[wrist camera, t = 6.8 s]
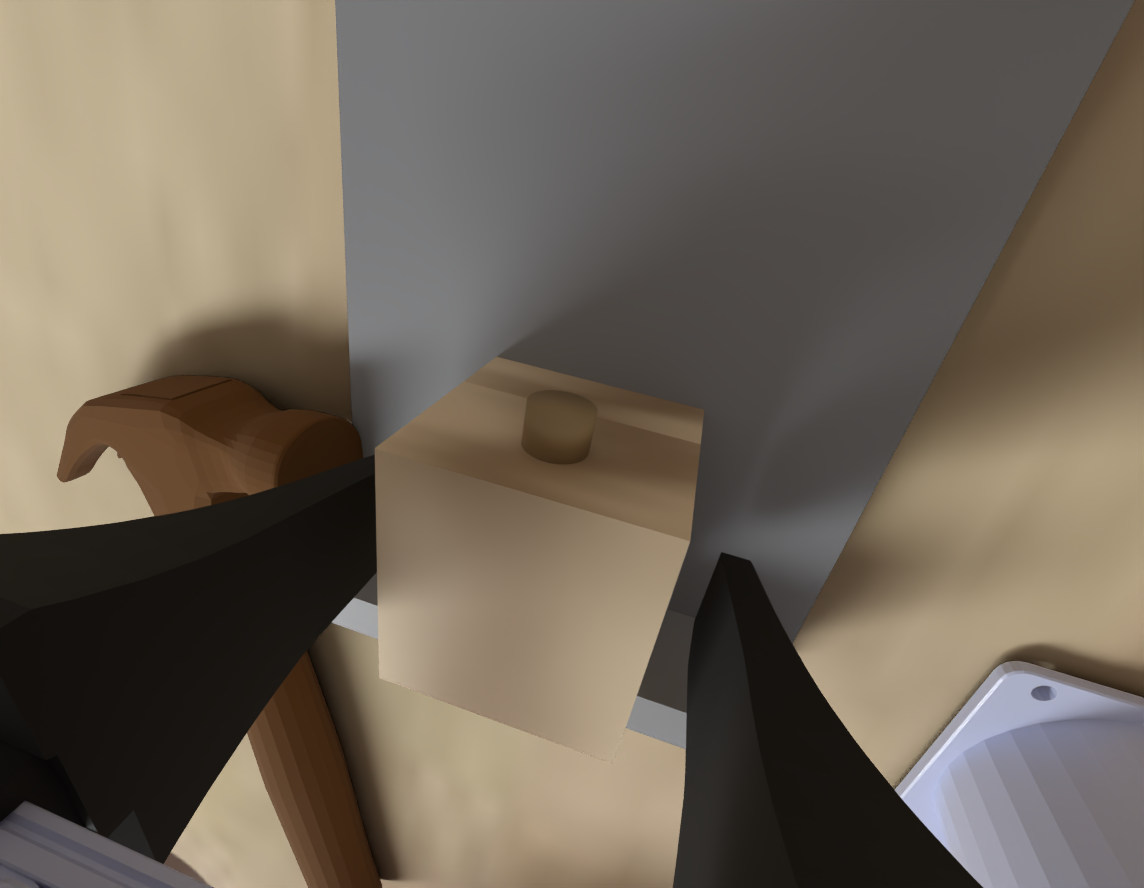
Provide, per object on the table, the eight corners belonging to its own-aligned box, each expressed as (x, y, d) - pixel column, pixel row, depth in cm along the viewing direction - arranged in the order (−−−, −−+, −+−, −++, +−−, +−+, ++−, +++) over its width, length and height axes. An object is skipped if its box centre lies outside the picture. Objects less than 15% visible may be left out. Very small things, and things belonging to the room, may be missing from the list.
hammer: (438, 914, 28) (360, 401, 14) (398, 987, 26) (256, 449, 12) (281, 811, 32) (101, 332, 18) (233, 865, 30) (-19, 357, 16)
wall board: (1215, -221, 7) (1670, -598, 4) (765, 662, 16) (775, 797, 12) (361, -276, 9) (136, -557, 6) (375, 535, 18) (289, 621, 14)
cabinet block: (714, 376, 11) (706, 495, 7) (648, 589, 14) (612, 763, 10) (499, 324, 12) (374, 402, 8) (478, 536, 15) (378, 678, 11)
